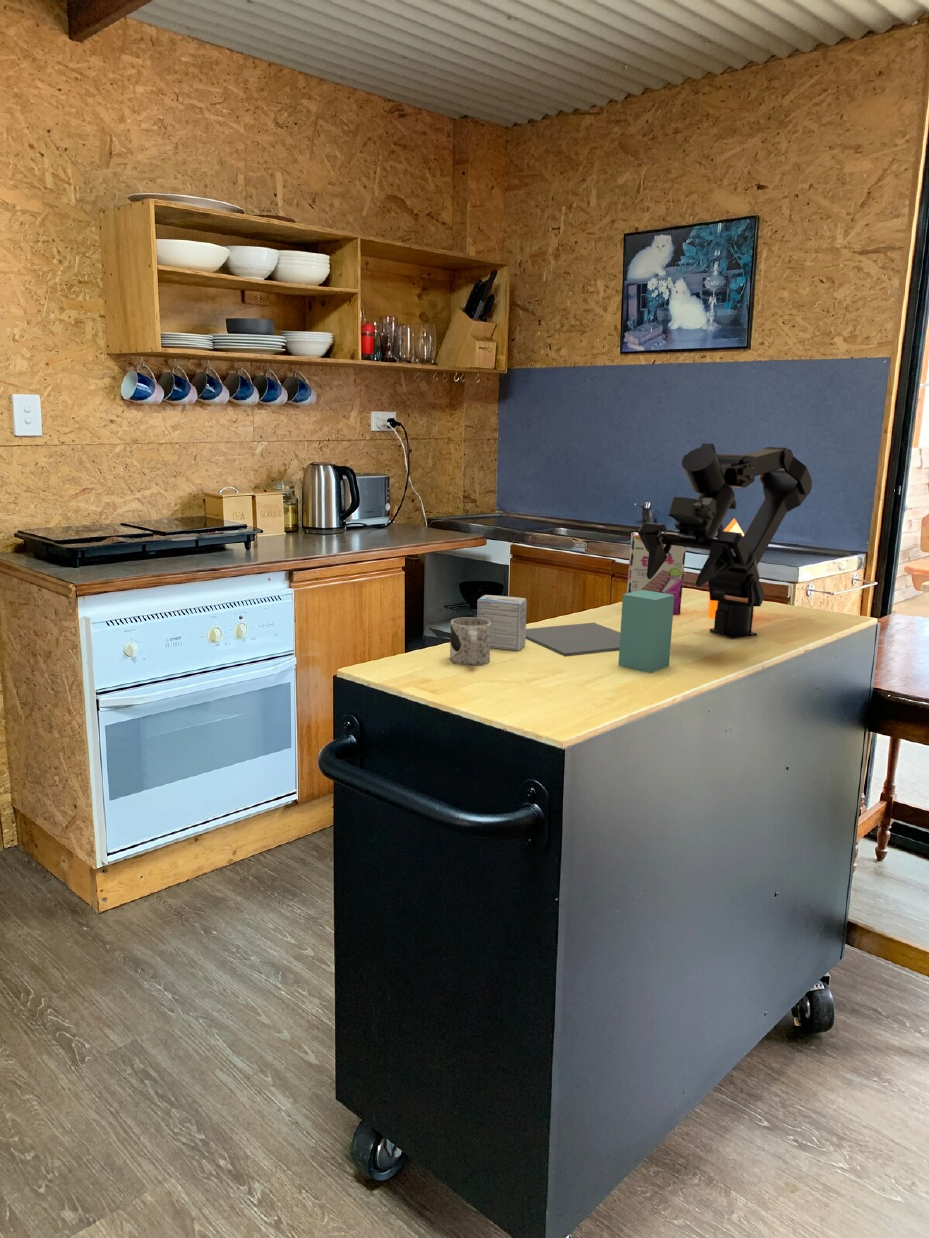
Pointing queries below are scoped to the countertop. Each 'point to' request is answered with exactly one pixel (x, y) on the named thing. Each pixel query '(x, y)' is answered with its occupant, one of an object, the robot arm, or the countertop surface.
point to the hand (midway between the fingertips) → (672, 581)
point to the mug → (470, 641)
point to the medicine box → (504, 620)
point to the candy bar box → (666, 576)
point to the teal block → (646, 630)
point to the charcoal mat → (576, 638)
